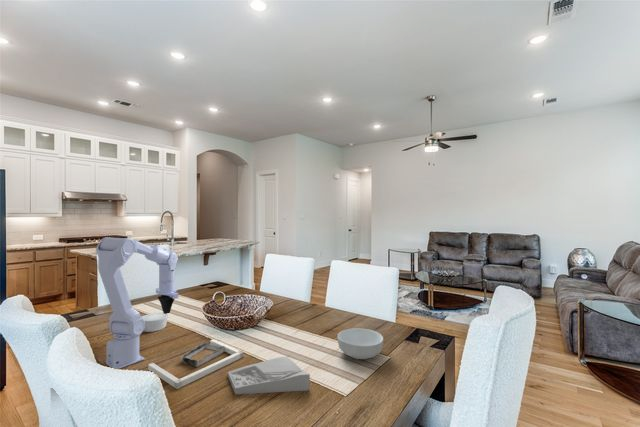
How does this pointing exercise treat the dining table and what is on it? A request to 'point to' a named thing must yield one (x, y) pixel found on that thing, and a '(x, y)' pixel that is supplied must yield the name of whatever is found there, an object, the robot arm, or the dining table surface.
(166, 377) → the trivet frame
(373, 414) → the dining table surface
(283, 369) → the door stopper
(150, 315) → the ramekin
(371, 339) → the cereal bowl
